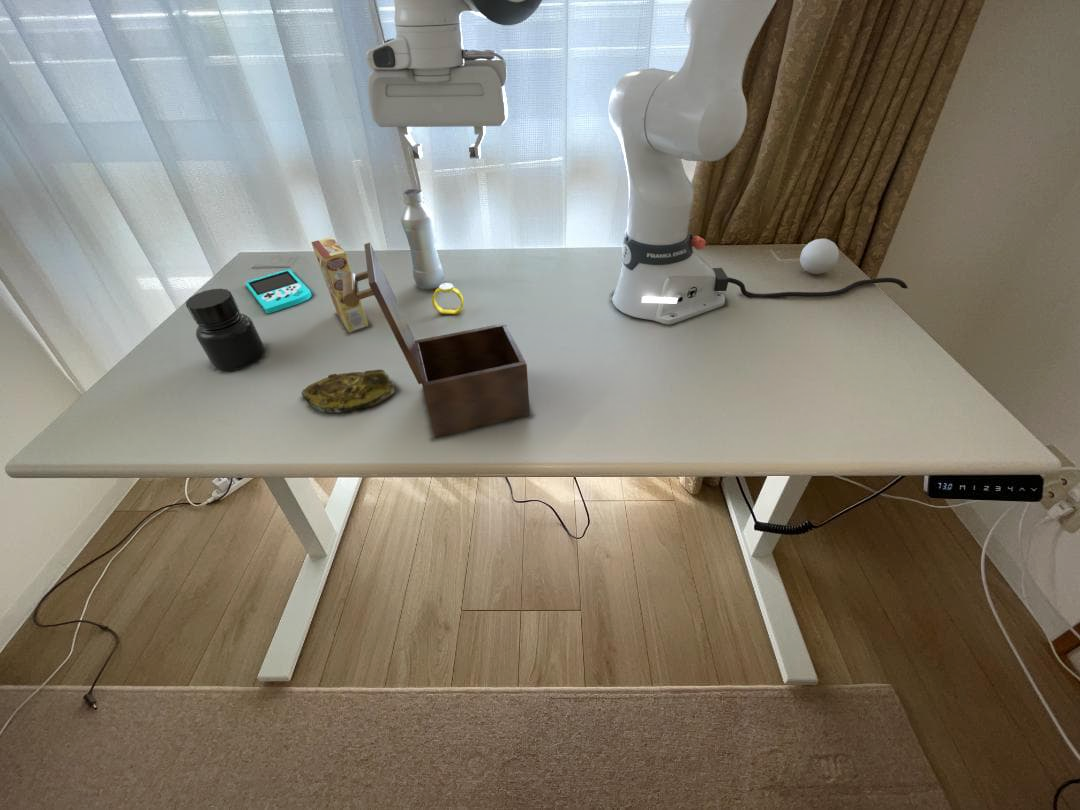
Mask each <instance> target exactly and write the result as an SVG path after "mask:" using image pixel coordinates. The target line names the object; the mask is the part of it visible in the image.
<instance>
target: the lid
mask: <svg viewBox="0 0 1080 810" xmlns="http://www.w3.org/2000/svg"><path fill="white" fill-rule="evenodd" d="M363 246H364V247H363V248H364V255H365V263H366V271H362V272H360V273H357V274H356V273H354V272H352V271H351V272H347V273H345V274H344V275H343V301H344V303H345V305H347V306H349V307H355V306H357V305H358V304H359V300H361V301H362V300H364V299H366V298H370V297H372V296H374V297H375V299H376V301H377V303H378V305H379V308H380V309H381V311H382V314H383V315H384V317H385V320H386V322H387V324H388V326H389V327H390V329H391V331H392V333H393V335H394V337H395V340H396V341H397V344H398V345H399V347H400V350H401V351H402V354H403V356H404V358H405V360H406V361H407V363H408V365H409V368H410V370H411V372H412V373H413V375H414V378H415V380H416V381H417V384H418V385H422V383H424V378H423V374H422V369H421V365H420V361H419V356H418V352H417V348H416V343H415V340H416V339H415V336H414V334H413V332H412V329H411V328H410V325H409V323H408V320H407V319H406V317H405V314H404V312H403V310H402V308H401V305H400V303H399V301H398V300H397V297H396V295H395V293H394V291H393V289H392V286H391V284H390V282H389V280H388V277H387V276H386V274H385V271H384V269H383V267H382V265H381V263H380V261H379V259H378V257H377V253H376V251H375V250H374V248H373V246H372V244H371V242H367V243H365V244H364V245H363ZM363 280H368V285H369V288H367V289H364V290H361V291H360V290H359V289H360V288H359V282H361V281H363Z"/></svg>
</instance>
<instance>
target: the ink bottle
mask: <svg viewBox="0 0 1080 810" xmlns="http://www.w3.org/2000/svg"><path fill="white" fill-rule="evenodd" d="M185 307H186V308H187V310H188V312H189V313H190V315H191V317H192V319H193V321H194V322H195V323H196V325H198V326H197V328H196V330H195V337H196V340H197V341H198V343H199V344H200V346H201V348H202V349H203V351H204V353H205V355H206V356H207V358H208V360H209V361H210V363H211V365H212V366H213V367H214V368H216V369H217V370H220V371H234V370H235V371H236V370H240V369H243V368H246V367H248V366H251V365H252V364H254V363H256V362H258V361H259V360H260V359H261V358H262V357H263V356H264V355H265V351H266V348H265V345H264V344H263V341H262V338H261V336H260V335H259V332H258V330H257V329H256V326H255V324H254V322H253V320H252V319H251V317H250V316H248V315H247V314H245V313H241V312H240V309H239V306H238V304H237V302H236V299H235V298H234V296H233V294H232V292H231V291H230V290H229V289H226V288H211V289H207V290H203V291H200V292H198V293H195V294H194V295H192V296H190V297H189V298H188V299H187V300H186V301H185Z"/></svg>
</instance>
